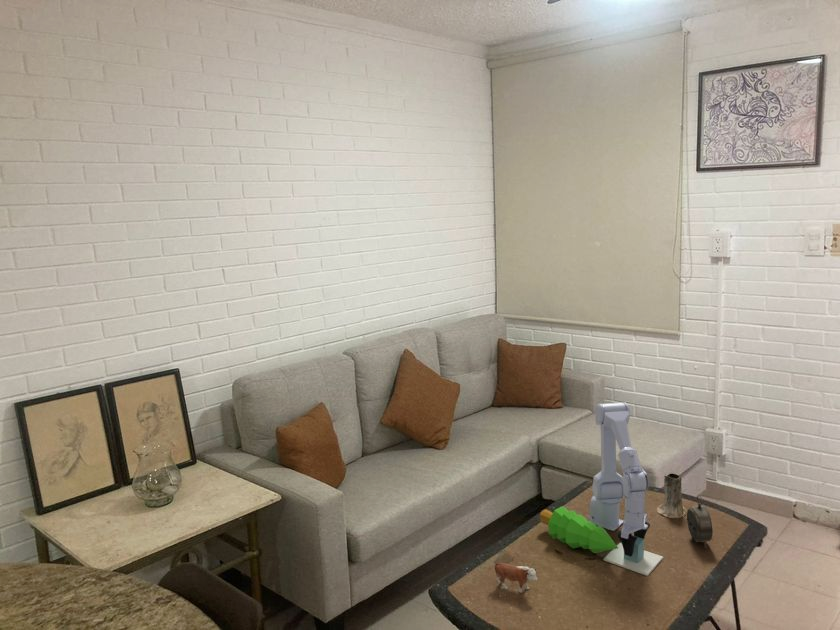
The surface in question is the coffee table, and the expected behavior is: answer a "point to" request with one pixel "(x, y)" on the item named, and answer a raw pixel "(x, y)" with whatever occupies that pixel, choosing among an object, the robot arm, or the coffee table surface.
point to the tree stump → (672, 498)
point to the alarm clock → (699, 523)
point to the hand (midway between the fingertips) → (633, 549)
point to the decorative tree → (576, 530)
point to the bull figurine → (515, 574)
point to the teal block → (637, 551)
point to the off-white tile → (642, 567)
